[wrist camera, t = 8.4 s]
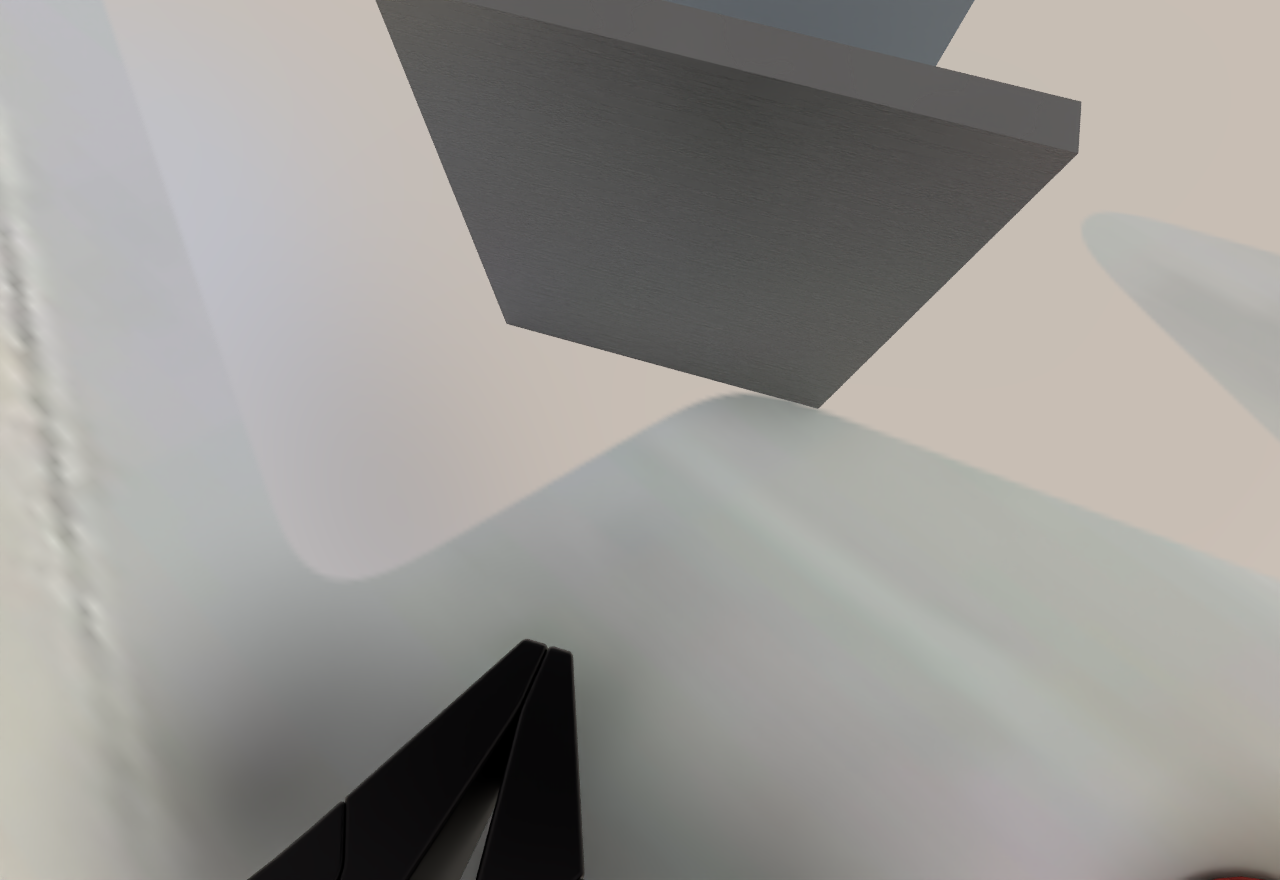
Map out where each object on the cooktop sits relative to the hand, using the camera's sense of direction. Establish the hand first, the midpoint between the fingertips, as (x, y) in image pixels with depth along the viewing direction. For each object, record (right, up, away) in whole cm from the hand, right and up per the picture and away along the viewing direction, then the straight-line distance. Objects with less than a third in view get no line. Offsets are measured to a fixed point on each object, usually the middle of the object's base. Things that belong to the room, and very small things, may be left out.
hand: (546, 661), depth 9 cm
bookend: (+4, +11, +11) cm, 16 cm away
